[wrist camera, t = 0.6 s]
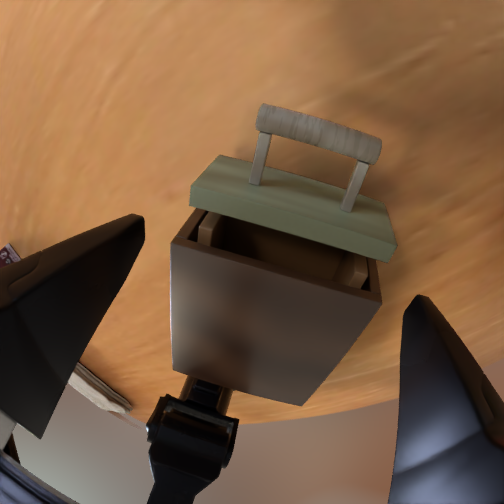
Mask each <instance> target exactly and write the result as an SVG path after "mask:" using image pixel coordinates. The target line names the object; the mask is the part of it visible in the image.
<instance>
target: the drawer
mask: <svg viewBox="0 0 504 504" xmlns="http://www.w3.org/2000/svg"><path fill="white" fill-rule="evenodd" d="M256 130H258V131H260V133H259V136H258V141H257V146H256V150H255V155H254V160H253V163H252V162H248V161H244V160H240V159H236V158H232V157H227V156H223V155H219V156H218V157H217V158H216V159H215V160H214V161H213V162H212V163H211V164H210V165H209V166H208V167H207V169H206V170H205V171H204V172H203V173H202V174H201V175H200V176H199V177H198V178H197V179H196V181H195V182H194V183H193V184H192V185H191V190H190V201H189V206H192V207H196V208H200V209H204V210H207V211H209V212H208V214H207V215H206V217H205V219H204V220H203V222H202V223H201V225H200V226H199V232H198V242H197V243H201V244H204V245H208V246H211V247H215V248H218V249H221V250H225V251H228V252H232V253H235V254H239V255H242V256H246V257H249V258H253V259H256V260H260V261H263V262H266V263H270V264H273V265H277V266H280V267H284V268H287V269H291V270H294V271H298V272H301V273H305V274H308V275H312V276H315V277H319V278H322V279H326V280H330V281H333V282H337V283H340V284H344V285H347V286H351V287H354V288H358V289H361V287H362V285H363V283H364V282H365V280H366V278H367V276H368V270H367V262H366V257H370V258H373V259H376V260H379V261H382V262H386V263H388V262H389V260H390V259H391V257H392V255H393V253H394V251H395V250H396V248H397V242H396V239H395V236H394V232H393V229H392V226H391V222H390V219H389V216H388V213H387V210H386V207H385V204H384V203H383V202H380V201H378V200H375V199H372V198H369V197H366V196H363V195H360V194H358V193H359V191H360V188H361V186H362V183H363V180H364V178H365V175H366V173H367V170H368V167H369V164H372V165H374V164H375V163H376V162H377V160H378V158H379V155H380V152H381V148H382V140H381V139H380V138H377V137H375V136H372V135H369V134H366V133H364V132H361V131H358V130H355V129H352V128H349V127H346V126H343V125H340V124H337V123H334V122H331V121H327V120H324V119H321V118H317V117H314V116H310V115H307V114H303V113H300V112H296V111H292V110H288V109H285V108H281V107H276V106H272V105H268V104H262V105H261V107H260V109H259V112H258V115H257V120H256ZM272 134H274V135H278V136H282V137H285V138H289V139H293V140H296V141H300V142H303V143H307V144H310V145H314V146H317V147H320V148H324V149H327V150H330V151H333V152H336V153H339V154H342V155H345V156H348V157H351V158H354V159H357V161H356V163H355V166H354V169H353V172H352V174H351V177H350V180H349V182H348V185H347V188H346V190H345V189H342V188H339V187H336V186H333V185H329V184H326V183H323V182H320V181H316V180H313V179H310V178H306V177H303V176H300V175H296V174H293V173H289V172H286V171H282V170H278V169H275V168H271V167H267V166H265V164H266V160H267V156H268V151H269V147H270V143H271V138H272Z"/></svg>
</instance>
